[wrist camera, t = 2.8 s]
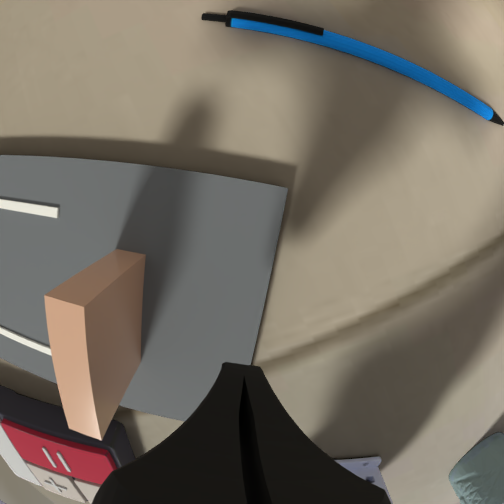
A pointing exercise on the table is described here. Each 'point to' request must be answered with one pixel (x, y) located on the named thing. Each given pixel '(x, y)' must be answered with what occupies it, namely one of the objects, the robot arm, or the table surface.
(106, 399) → the tile
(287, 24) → the pen
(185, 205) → the mat
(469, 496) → the green cup
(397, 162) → the table surface
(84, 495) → the calculator
